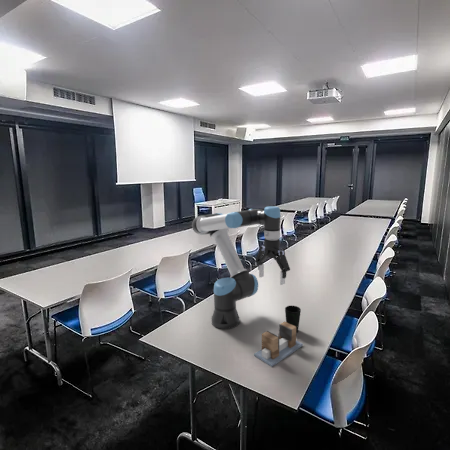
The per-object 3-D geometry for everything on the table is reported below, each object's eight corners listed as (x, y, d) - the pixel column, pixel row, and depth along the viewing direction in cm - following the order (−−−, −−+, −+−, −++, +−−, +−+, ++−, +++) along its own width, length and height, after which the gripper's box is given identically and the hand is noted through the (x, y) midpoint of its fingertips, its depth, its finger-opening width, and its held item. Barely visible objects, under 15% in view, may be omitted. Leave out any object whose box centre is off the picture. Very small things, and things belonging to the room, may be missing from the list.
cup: (282, 332, 148) (282, 310, 145) (288, 325, 154) (288, 304, 152) (297, 336, 143) (297, 314, 141) (302, 329, 150) (302, 307, 147)
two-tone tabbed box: (261, 352, 130) (261, 334, 128) (267, 348, 132) (267, 330, 131) (273, 359, 125) (273, 340, 123) (279, 355, 127) (279, 336, 126)
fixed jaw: (295, 344, 135) (296, 326, 133) (290, 348, 132) (290, 330, 131) (284, 338, 140) (284, 321, 138) (279, 342, 137) (279, 324, 136)
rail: (254, 355, 129) (254, 347, 129) (285, 336, 143) (285, 329, 143) (271, 366, 122) (271, 358, 121) (302, 345, 136) (302, 337, 135)
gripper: (248, 235, 148) (248, 275, 152) (288, 244, 130) (287, 289, 133) (258, 233, 153) (258, 272, 157) (298, 241, 134) (297, 285, 138)
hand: (271, 280), depth 145 cm, fingers open, 13 cm apart
